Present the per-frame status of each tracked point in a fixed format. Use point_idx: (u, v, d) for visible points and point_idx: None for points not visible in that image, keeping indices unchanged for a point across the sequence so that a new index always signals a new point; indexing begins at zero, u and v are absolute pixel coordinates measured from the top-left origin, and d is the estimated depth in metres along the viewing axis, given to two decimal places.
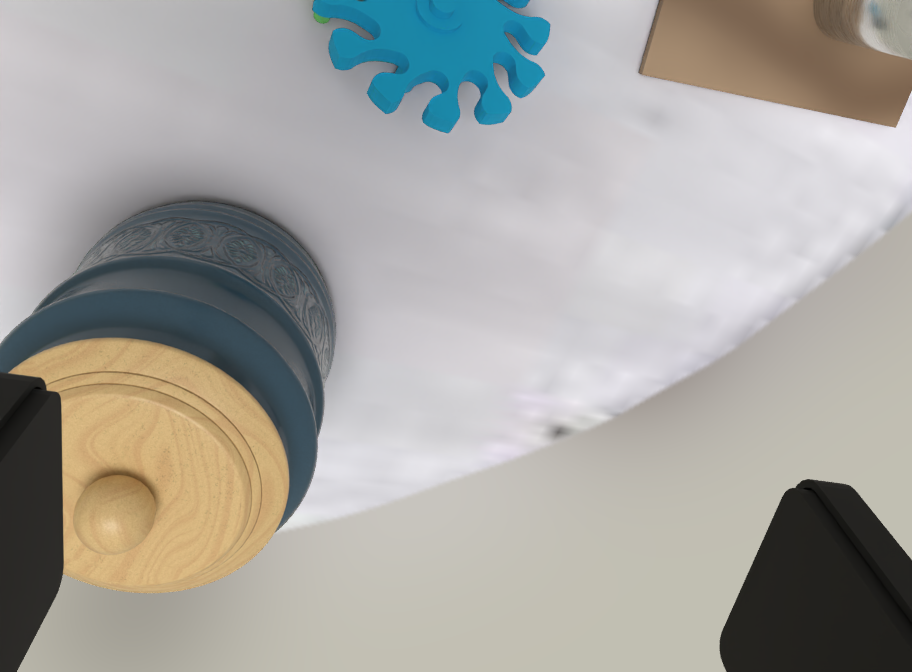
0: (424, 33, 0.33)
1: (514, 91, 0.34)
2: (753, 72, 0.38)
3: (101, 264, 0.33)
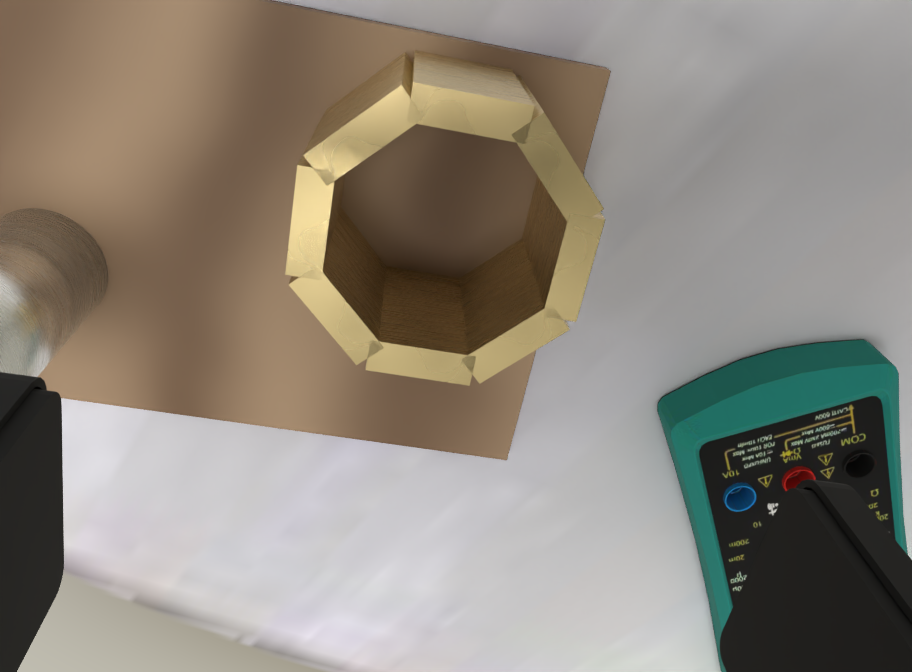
0: None
1: None
2: None
3: None
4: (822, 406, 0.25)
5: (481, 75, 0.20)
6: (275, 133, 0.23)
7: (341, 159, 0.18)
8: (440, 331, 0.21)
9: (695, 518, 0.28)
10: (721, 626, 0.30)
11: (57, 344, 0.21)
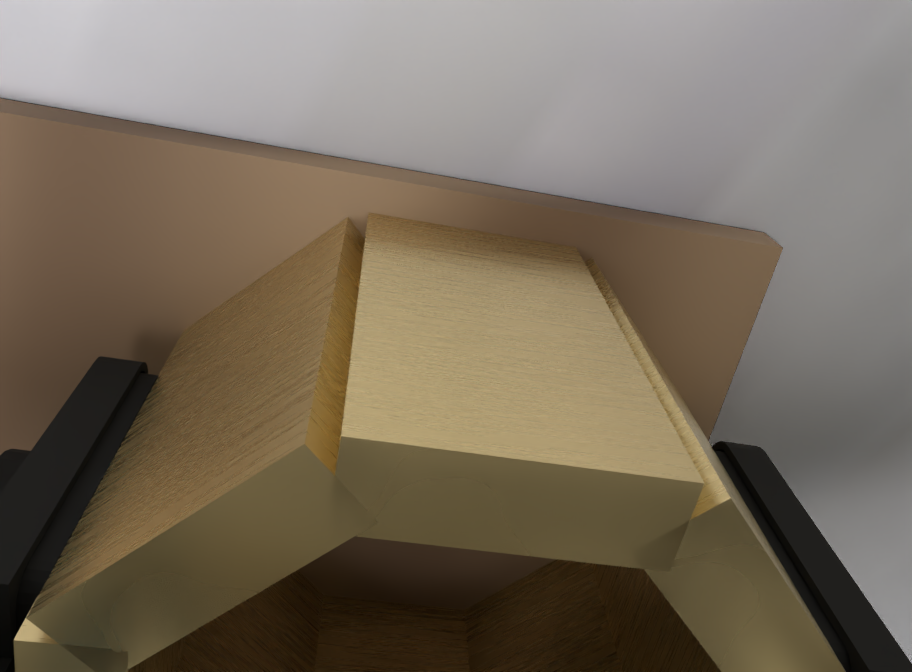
0: None
1: None
2: None
3: None
4: None
5: (523, 305, 0.08)
6: (80, 377, 0.11)
7: (141, 623, 0.06)
8: None
9: None
10: None
11: None
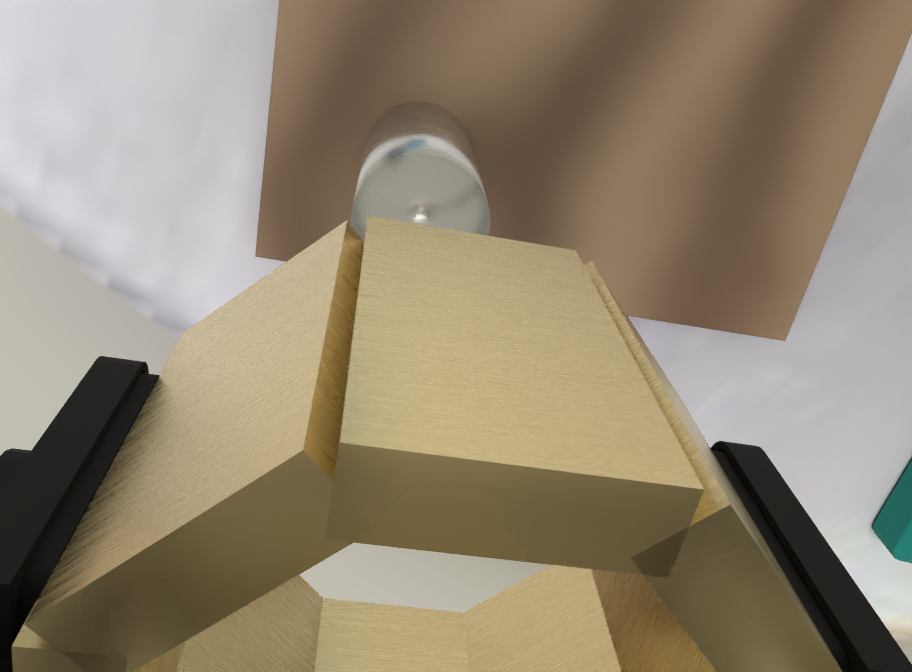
0: None
1: None
2: (313, 28, 0.26)
3: None
4: None
5: (522, 309, 0.08)
6: (639, 32, 0.26)
7: (139, 629, 0.06)
8: None
9: None
10: None
11: None
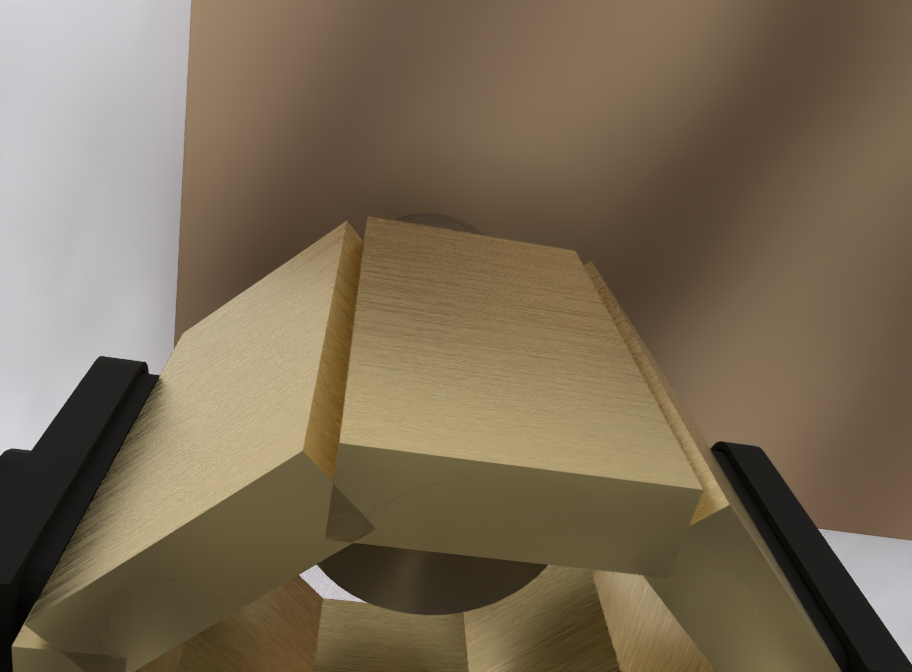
0: None
1: None
2: (248, 97, 0.15)
3: None
4: None
5: (522, 310, 0.08)
6: (797, 103, 0.16)
7: (139, 629, 0.06)
8: None
9: None
10: None
11: None
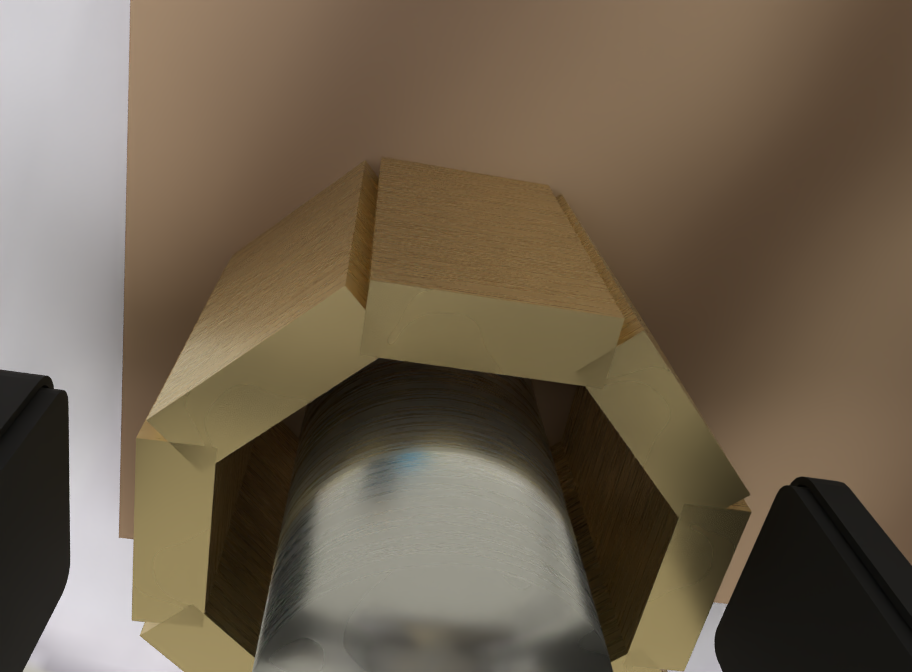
0: None
1: None
2: (203, 137, 0.12)
3: None
4: None
5: (502, 218, 0.11)
6: (864, 142, 0.13)
7: (226, 425, 0.09)
8: None
9: None
10: None
11: None
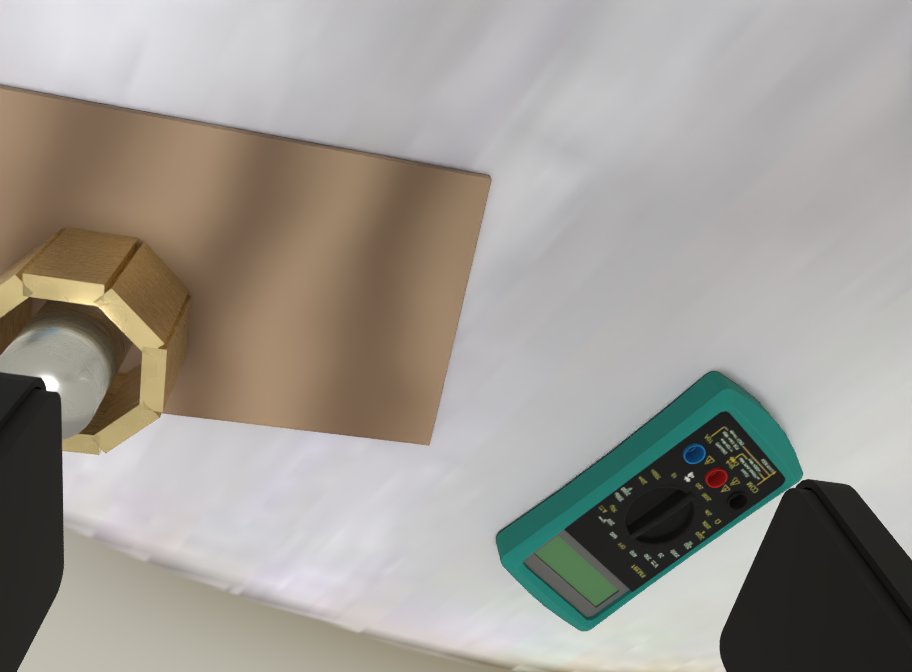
0: None
1: None
2: None
3: None
4: (778, 457, 0.39)
5: (97, 252, 0.31)
6: (264, 221, 0.33)
7: None
8: None
9: (660, 439, 0.39)
10: (573, 506, 0.40)
11: (118, 368, 0.31)
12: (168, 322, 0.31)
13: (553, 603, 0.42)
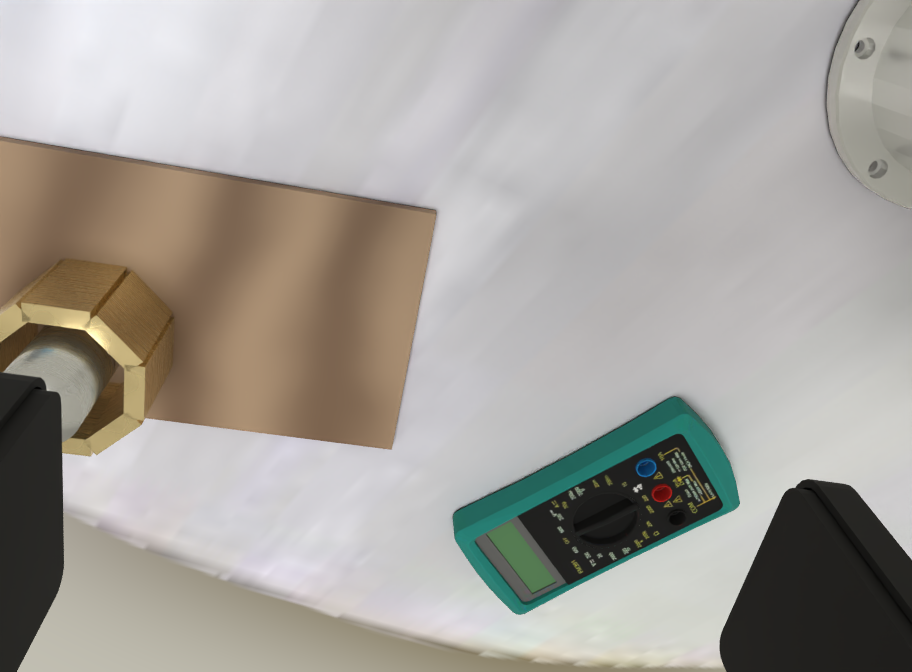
0: None
1: None
2: (4, 252, 0.37)
3: None
4: (720, 483, 0.43)
5: (88, 281, 0.36)
6: (236, 252, 0.38)
7: None
8: None
9: (618, 449, 0.43)
10: (529, 496, 0.44)
11: (107, 381, 0.36)
12: (148, 342, 0.36)
13: (495, 583, 0.45)
